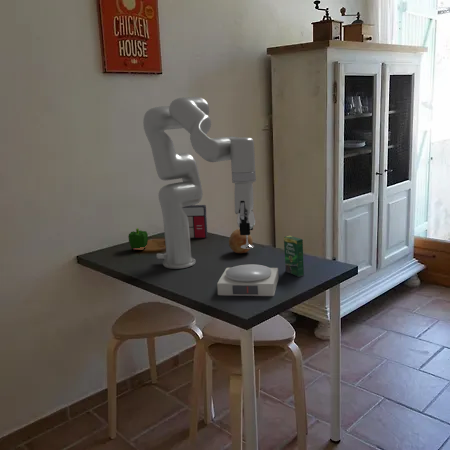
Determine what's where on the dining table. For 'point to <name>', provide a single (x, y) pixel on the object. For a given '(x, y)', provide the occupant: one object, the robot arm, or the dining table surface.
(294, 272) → the coffee box
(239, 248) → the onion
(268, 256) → the dining table surface
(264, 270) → the kitchen scale
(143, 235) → the bell pepper
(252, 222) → the wineglass
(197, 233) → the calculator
